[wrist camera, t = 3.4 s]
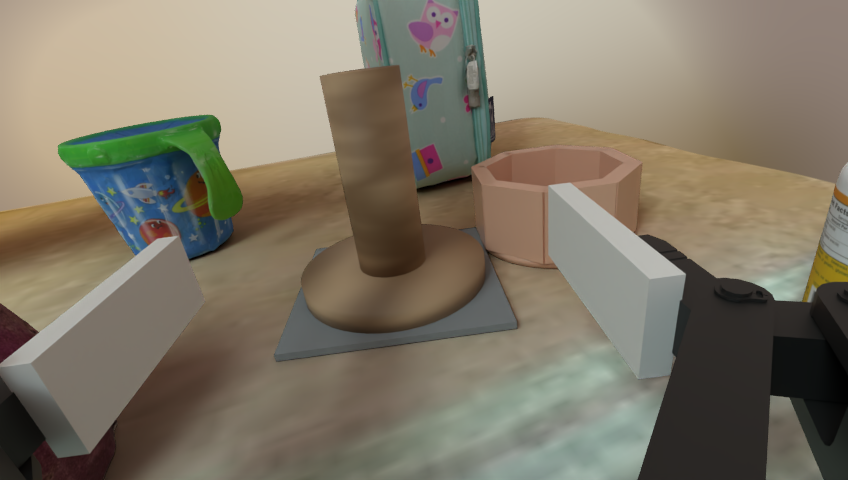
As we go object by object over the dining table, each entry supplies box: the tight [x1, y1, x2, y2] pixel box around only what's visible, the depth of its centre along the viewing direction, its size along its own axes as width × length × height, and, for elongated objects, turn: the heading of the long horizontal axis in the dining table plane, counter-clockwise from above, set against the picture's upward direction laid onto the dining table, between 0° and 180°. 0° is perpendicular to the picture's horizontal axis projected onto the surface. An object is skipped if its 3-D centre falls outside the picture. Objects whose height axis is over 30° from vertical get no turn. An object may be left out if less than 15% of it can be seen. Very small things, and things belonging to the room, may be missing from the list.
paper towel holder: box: [301, 65, 485, 334], centre depth 24 cm, size 11×11×12 cm
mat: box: [274, 227, 517, 361], centre depth 26 cm, size 12×12×1 cm
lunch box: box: [355, 0, 495, 189], centre depth 46 cm, size 27×10×21 cm, turn 12°
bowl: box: [471, 145, 642, 268], centre depth 29 cm, size 10×10×5 cm
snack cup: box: [58, 115, 243, 259], centre depth 34 cm, size 16×10×10 cm
